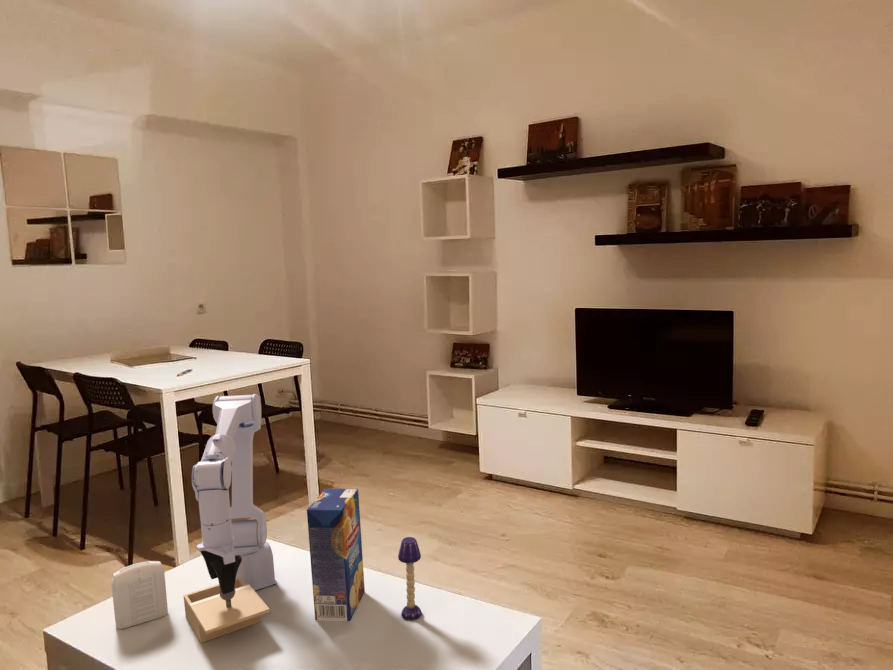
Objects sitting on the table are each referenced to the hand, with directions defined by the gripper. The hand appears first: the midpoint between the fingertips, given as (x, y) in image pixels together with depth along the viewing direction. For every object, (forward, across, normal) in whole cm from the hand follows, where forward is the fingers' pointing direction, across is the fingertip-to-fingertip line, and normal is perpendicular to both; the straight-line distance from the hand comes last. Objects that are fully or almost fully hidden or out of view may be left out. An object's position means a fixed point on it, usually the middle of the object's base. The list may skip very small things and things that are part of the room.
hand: (222, 584), depth 135 cm
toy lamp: (+11, +19, +33) cm, 39 cm away
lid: (+5, 0, +1) cm, 5 cm away
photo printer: (+11, -17, -13) cm, 24 cm away
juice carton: (+11, +6, +23) cm, 26 cm away
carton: (+10, -6, +1) cm, 12 cm away
